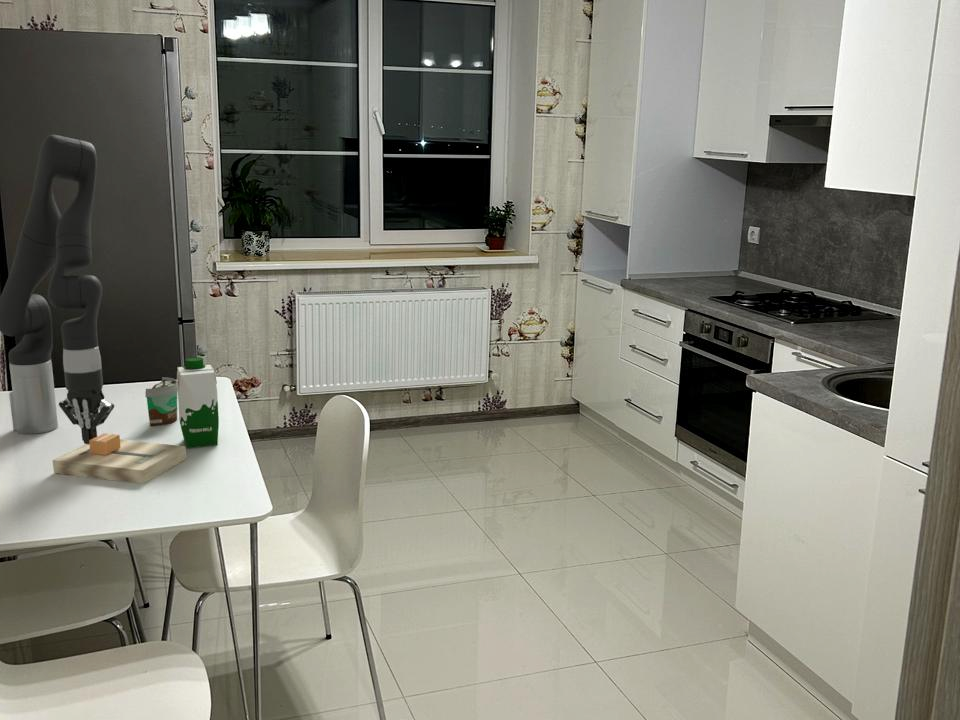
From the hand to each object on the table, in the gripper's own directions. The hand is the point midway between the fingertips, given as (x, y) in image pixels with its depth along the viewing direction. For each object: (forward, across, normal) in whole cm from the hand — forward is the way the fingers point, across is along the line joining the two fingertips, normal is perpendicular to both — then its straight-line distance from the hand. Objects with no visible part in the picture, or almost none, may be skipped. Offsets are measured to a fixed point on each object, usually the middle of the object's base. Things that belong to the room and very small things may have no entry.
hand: (90, 443), depth 201 cm
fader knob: (+1, -4, 0) cm, 4 cm away
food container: (+5, +2, -32) cm, 33 cm away
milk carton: (+5, -15, -19) cm, 25 cm away
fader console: (+5, -7, 0) cm, 9 cm away
